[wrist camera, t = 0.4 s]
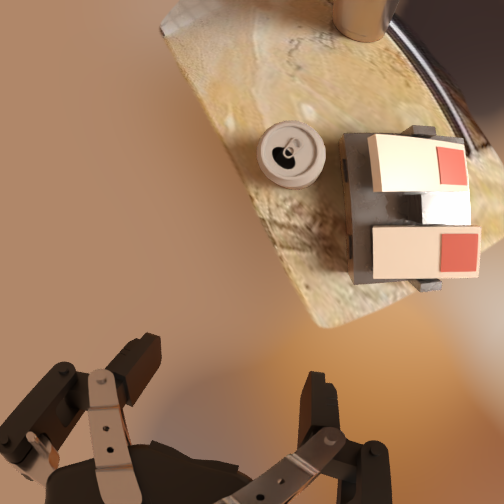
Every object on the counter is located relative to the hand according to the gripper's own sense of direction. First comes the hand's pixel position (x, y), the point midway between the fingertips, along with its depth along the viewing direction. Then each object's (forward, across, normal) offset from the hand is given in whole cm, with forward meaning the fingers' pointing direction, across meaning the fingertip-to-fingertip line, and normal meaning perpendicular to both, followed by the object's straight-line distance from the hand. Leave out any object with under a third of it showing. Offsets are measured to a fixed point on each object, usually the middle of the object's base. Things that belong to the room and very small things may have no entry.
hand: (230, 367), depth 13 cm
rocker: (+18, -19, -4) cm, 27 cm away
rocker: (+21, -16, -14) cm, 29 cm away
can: (+30, -1, -10) cm, 32 cm away
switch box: (+28, -18, -8) cm, 35 cm away
